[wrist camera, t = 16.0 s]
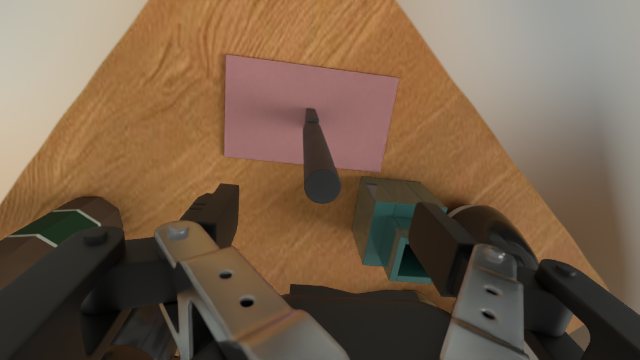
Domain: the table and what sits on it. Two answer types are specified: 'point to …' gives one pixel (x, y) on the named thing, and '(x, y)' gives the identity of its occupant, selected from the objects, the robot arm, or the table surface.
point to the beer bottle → (52, 234)
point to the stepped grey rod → (318, 162)
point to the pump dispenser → (495, 232)
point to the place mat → (290, 109)
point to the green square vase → (390, 226)
